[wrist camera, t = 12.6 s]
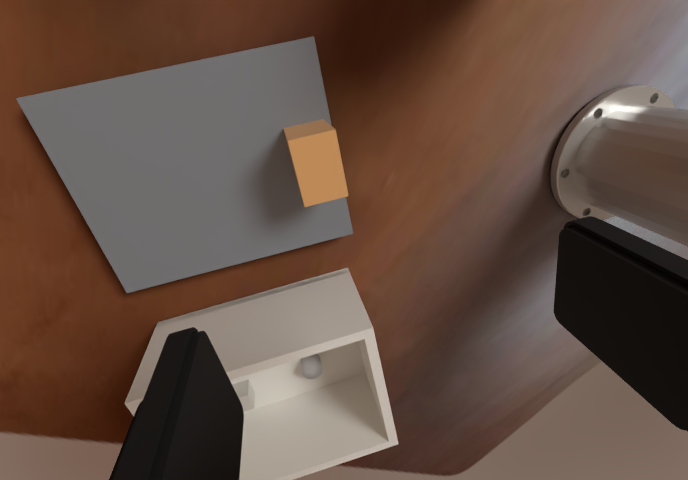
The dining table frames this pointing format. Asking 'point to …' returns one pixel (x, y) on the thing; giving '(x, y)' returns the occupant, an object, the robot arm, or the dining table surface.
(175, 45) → the dining table surface
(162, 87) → the grey board with block
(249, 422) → the parts tub
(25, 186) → the dining table surface
